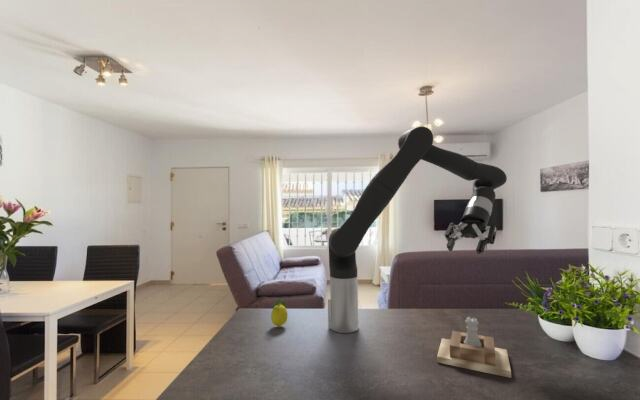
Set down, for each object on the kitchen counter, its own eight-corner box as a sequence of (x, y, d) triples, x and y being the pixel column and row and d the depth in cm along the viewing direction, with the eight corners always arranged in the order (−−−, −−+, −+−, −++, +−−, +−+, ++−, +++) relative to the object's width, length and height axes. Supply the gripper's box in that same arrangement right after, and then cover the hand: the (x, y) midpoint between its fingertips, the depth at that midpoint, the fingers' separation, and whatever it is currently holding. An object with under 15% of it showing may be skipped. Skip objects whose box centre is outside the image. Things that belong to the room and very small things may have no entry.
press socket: (437, 362, 76) (436, 344, 76) (442, 343, 86) (441, 327, 87) (511, 378, 68) (510, 358, 68) (506, 355, 79) (506, 338, 79)
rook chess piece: (485, 354, 75) (484, 322, 75) (466, 352, 76) (465, 321, 76) (479, 346, 79) (478, 316, 80) (461, 345, 80) (460, 315, 80)
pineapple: (272, 332, 96) (272, 301, 96) (266, 326, 101) (266, 296, 101) (291, 328, 99) (291, 298, 100) (285, 322, 104) (284, 293, 105)
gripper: (452, 205, 102) (436, 241, 94) (498, 204, 91) (485, 244, 83) (459, 220, 105) (444, 256, 97) (504, 221, 95) (492, 261, 87)
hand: (463, 250), depth 90 cm, fingers open, 8 cm apart
